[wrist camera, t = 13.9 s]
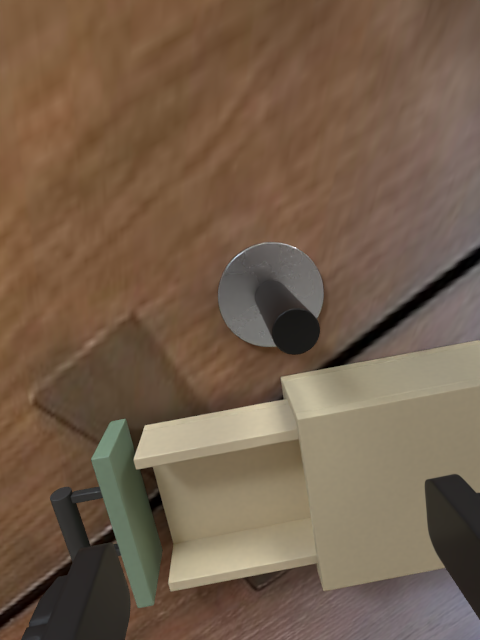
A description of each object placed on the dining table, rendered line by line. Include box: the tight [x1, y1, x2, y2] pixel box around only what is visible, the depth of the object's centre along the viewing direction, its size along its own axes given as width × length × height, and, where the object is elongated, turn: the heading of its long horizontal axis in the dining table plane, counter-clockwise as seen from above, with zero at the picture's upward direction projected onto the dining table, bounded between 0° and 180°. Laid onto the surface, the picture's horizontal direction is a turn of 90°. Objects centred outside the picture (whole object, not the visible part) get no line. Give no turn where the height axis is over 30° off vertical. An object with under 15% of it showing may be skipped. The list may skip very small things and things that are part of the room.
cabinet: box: [280, 340, 480, 591], centre depth 29 cm, size 16×14×7 cm
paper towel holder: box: [218, 242, 324, 355], centre depth 24 cm, size 8×8×10 cm
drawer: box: [50, 399, 318, 608], centre depth 29 cm, size 19×12×5 cm, turn 100°
